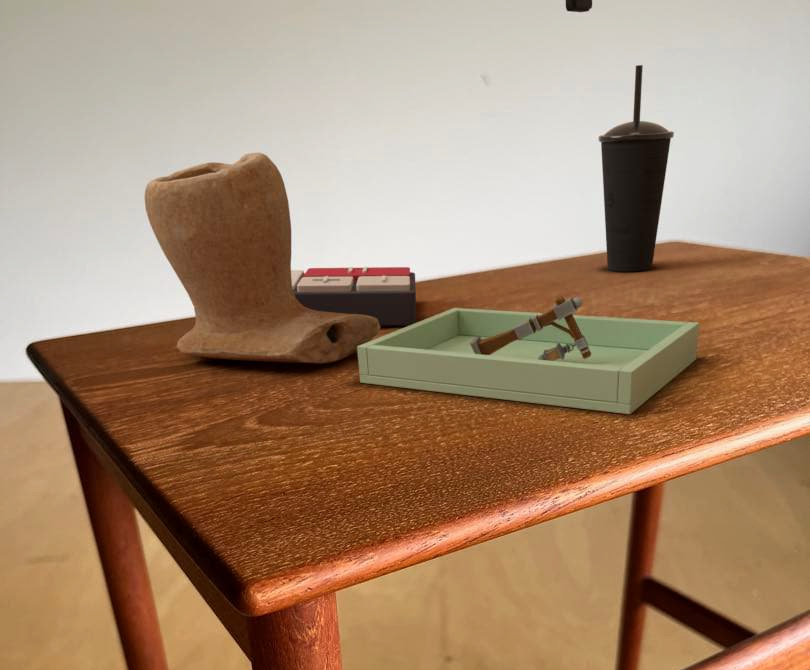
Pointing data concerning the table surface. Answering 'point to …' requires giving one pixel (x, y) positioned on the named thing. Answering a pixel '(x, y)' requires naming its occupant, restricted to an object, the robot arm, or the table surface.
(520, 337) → the wooden post with brackets
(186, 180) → the boot-shaped pottery piece
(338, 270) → the dark box with panels
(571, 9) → the robot arm
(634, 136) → the drinking cup
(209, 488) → the table surface
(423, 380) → the tray
